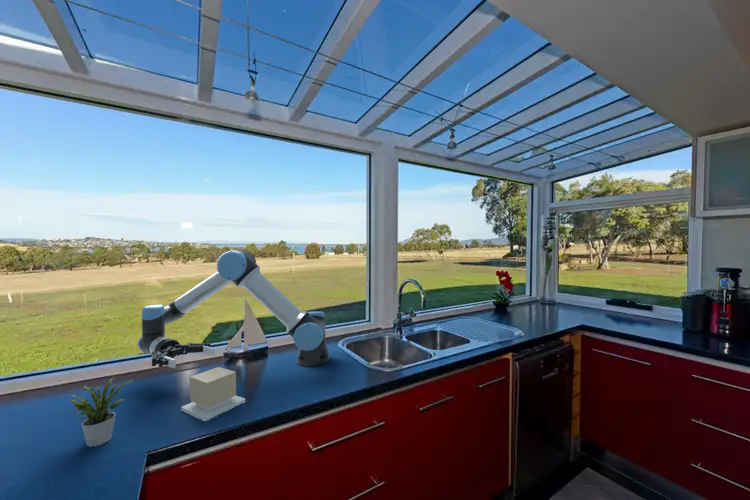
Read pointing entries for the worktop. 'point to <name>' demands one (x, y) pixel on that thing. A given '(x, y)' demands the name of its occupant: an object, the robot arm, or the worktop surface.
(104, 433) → the house plant
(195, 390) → the beige cubic block
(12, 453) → the worktop surface
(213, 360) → the worktop surface
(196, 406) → the white serrated base block
